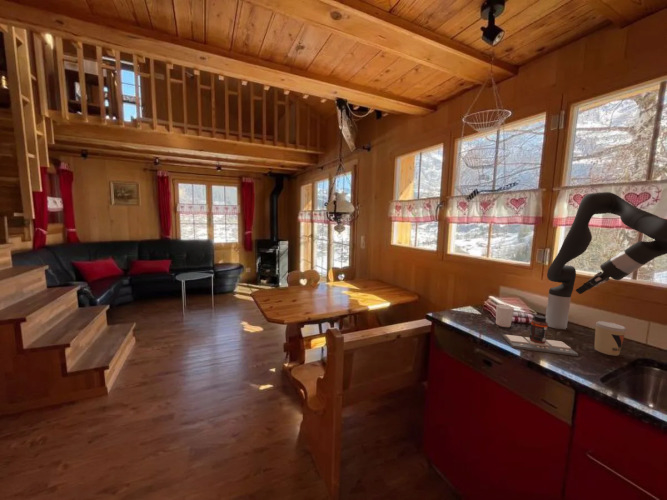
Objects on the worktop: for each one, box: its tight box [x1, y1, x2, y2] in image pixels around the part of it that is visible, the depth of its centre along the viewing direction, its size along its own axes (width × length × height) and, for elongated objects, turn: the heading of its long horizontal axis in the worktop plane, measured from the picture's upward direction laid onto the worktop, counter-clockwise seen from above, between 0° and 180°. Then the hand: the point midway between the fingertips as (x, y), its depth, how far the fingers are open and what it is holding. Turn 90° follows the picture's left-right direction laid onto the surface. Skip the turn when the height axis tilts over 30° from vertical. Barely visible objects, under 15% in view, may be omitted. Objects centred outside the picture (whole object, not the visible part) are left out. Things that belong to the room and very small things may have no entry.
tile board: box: [502, 334, 579, 357], centre depth 123 cm, size 12×24×2 cm, turn 77°
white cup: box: [495, 304, 515, 328], centre depth 147 cm, size 8×8×10 cm
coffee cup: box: [594, 320, 627, 357], centre depth 120 cm, size 9×9×12 cm
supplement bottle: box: [529, 314, 549, 343], centre depth 124 cm, size 6×6×11 cm
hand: (581, 290), depth 115 cm, fingers open, 8 cm apart
